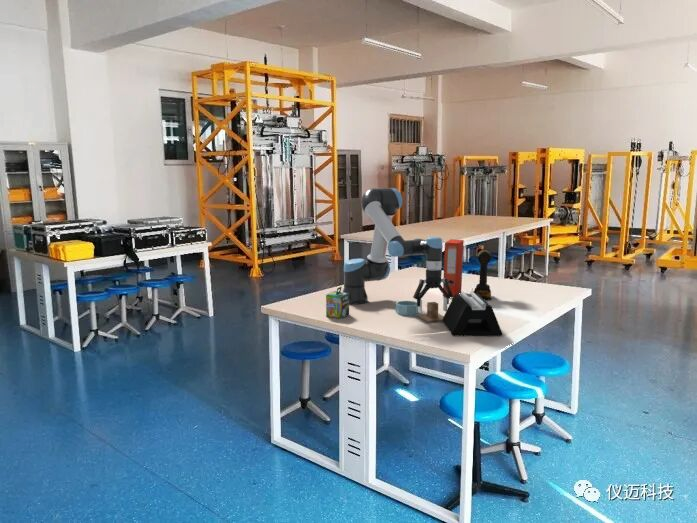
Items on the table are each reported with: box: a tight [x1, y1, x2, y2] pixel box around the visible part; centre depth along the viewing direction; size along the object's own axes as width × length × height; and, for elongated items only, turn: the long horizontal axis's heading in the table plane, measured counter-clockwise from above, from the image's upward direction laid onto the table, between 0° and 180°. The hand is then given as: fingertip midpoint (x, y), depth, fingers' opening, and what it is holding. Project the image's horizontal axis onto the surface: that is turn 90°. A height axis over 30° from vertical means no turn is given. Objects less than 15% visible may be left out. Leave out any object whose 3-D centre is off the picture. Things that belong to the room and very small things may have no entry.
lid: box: [415, 301, 444, 324], centre depth 277 cm, size 12×12×8 cm
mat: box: [411, 315, 445, 325], centre depth 278 cm, size 15×15×1 cm
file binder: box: [442, 238, 465, 298], centre depth 332 cm, size 8×17×32 cm, turn 159°
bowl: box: [395, 300, 419, 316], centre depth 289 cm, size 11×11×6 cm
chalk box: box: [325, 286, 350, 319], centre depth 285 cm, size 9×9×15 cm
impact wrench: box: [472, 249, 492, 300], centre depth 328 cm, size 14×21×28 cm, turn 165°
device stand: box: [442, 290, 503, 337], centre depth 260 cm, size 22×22×15 cm
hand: (432, 311), depth 277 cm, fingers open, 13 cm apart
